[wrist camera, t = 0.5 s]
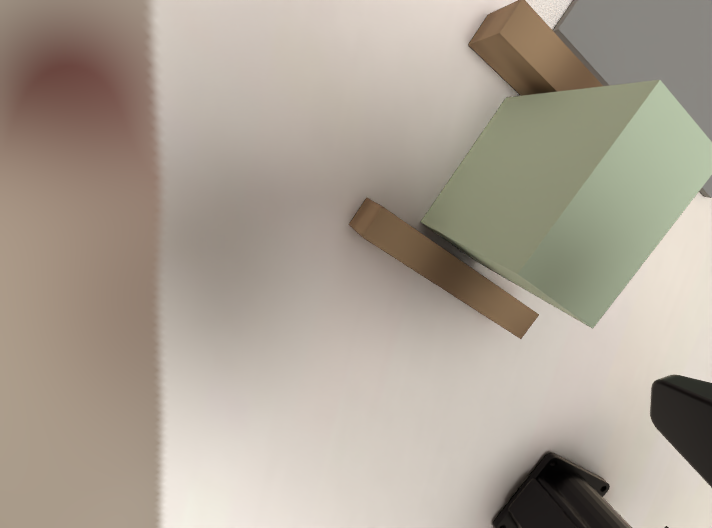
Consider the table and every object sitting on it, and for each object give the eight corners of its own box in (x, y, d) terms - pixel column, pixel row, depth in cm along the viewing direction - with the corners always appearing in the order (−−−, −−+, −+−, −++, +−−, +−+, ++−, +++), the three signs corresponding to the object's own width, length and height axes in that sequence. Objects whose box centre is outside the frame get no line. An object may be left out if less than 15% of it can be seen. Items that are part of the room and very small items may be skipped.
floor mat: (798, 75, 24) (807, 74, 23) (704, 196, 24) (711, 197, 24) (664, -133, 18) (673, -138, 18) (552, 30, 19) (558, 28, 19)
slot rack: (618, 147, 22) (662, 150, 20) (493, 318, 23) (520, 339, 21) (488, 14, 18) (522, -2, 16) (348, 224, 20) (362, 237, 18)
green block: (558, 147, 21) (724, 157, 14) (476, 261, 22) (592, 328, 15) (505, 97, 20) (660, 80, 13) (420, 221, 21) (517, 274, 13)
